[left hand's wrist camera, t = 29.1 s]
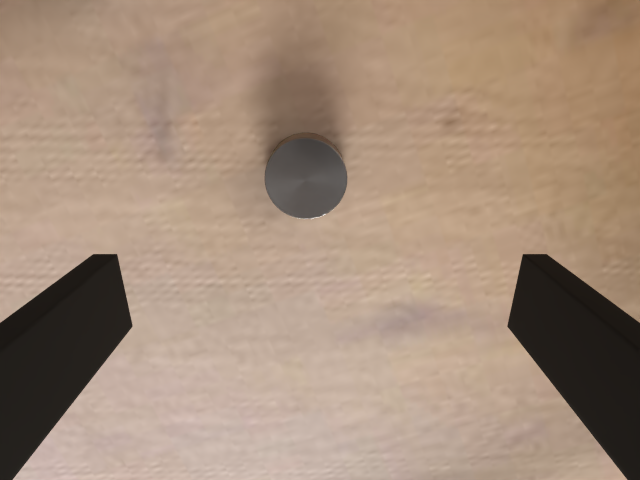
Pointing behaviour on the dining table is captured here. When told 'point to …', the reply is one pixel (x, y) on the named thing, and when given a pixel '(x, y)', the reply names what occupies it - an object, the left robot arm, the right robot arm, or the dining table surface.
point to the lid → (306, 176)
